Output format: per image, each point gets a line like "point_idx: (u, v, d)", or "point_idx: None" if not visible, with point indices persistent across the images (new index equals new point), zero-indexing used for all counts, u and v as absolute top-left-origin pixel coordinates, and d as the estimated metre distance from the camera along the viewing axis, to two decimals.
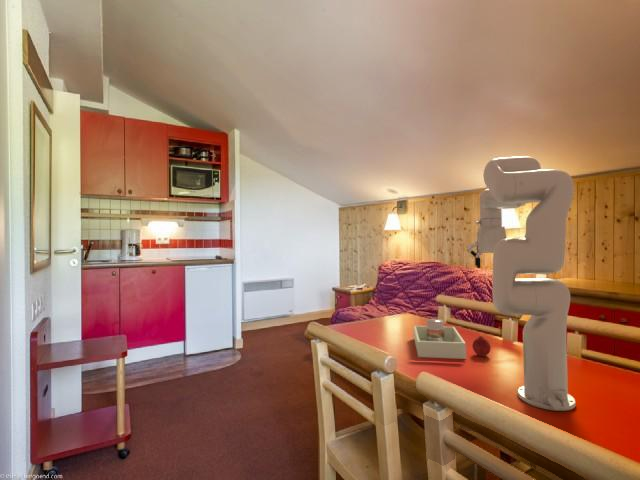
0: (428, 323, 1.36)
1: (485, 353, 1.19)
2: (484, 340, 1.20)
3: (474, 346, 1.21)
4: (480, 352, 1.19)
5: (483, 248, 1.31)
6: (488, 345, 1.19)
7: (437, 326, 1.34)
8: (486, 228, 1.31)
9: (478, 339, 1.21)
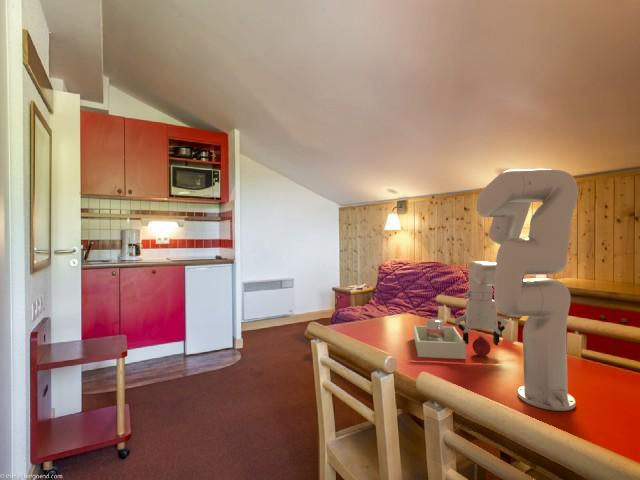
0: (428, 323, 1.36)
1: (485, 353, 1.19)
2: (484, 340, 1.20)
3: (474, 346, 1.21)
4: (480, 352, 1.19)
5: (471, 324, 1.20)
6: (488, 344, 1.19)
7: (437, 326, 1.34)
8: (475, 302, 1.20)
9: (478, 339, 1.21)
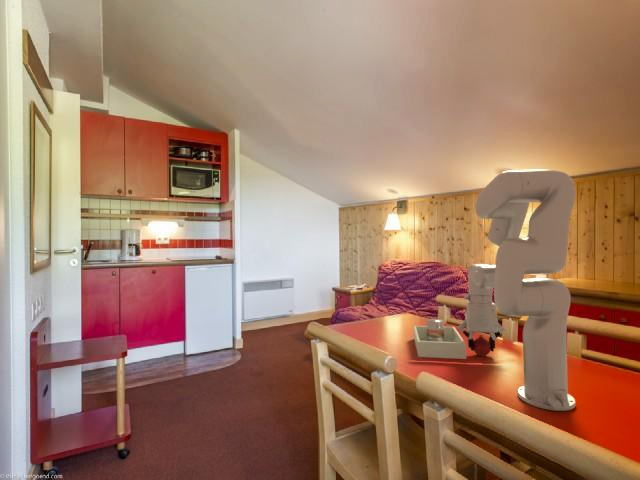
0: (428, 323, 1.36)
1: (485, 353, 1.19)
2: (484, 340, 1.20)
3: (474, 346, 1.21)
4: (480, 352, 1.19)
5: (472, 327, 1.19)
6: (488, 344, 1.19)
7: (437, 326, 1.34)
8: (475, 305, 1.19)
9: (478, 339, 1.21)
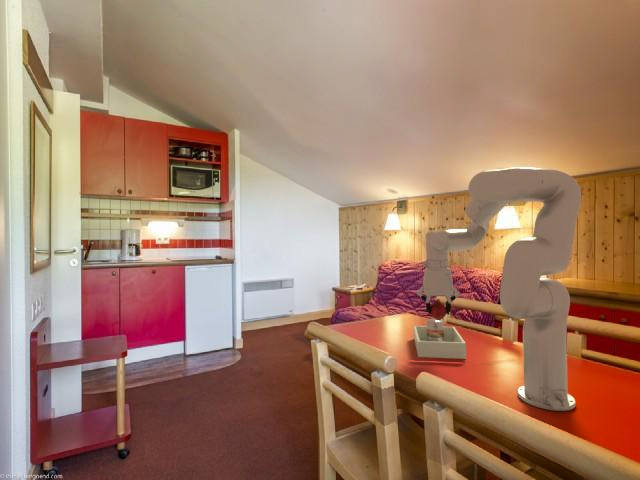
0: (428, 323, 1.36)
1: (441, 316, 1.24)
2: (440, 303, 1.25)
3: (431, 309, 1.26)
4: (436, 315, 1.24)
5: (428, 291, 1.24)
6: (444, 308, 1.24)
7: (437, 326, 1.34)
8: (431, 270, 1.24)
9: (435, 303, 1.26)
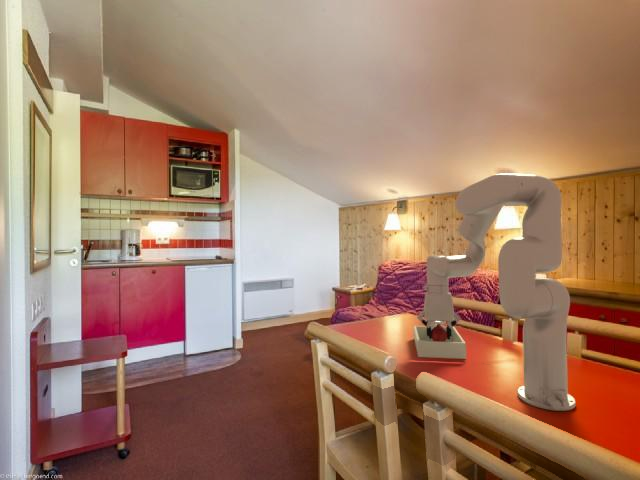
0: None
1: (441, 341, 1.24)
2: (441, 328, 1.25)
3: (432, 334, 1.26)
4: (437, 340, 1.24)
5: (429, 316, 1.24)
6: (444, 333, 1.24)
7: None
8: (432, 295, 1.24)
9: (435, 327, 1.26)
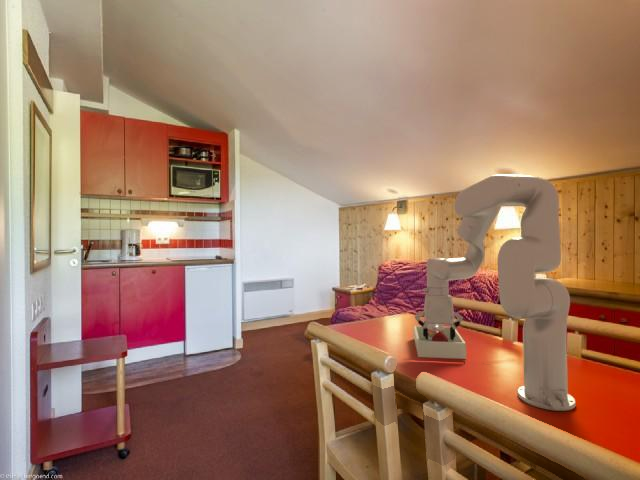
0: None
1: None
2: (442, 335, 1.25)
3: (433, 340, 1.25)
4: None
5: (429, 318, 1.24)
6: (446, 339, 1.24)
7: (437, 326, 1.34)
8: (432, 297, 1.24)
9: (437, 334, 1.26)
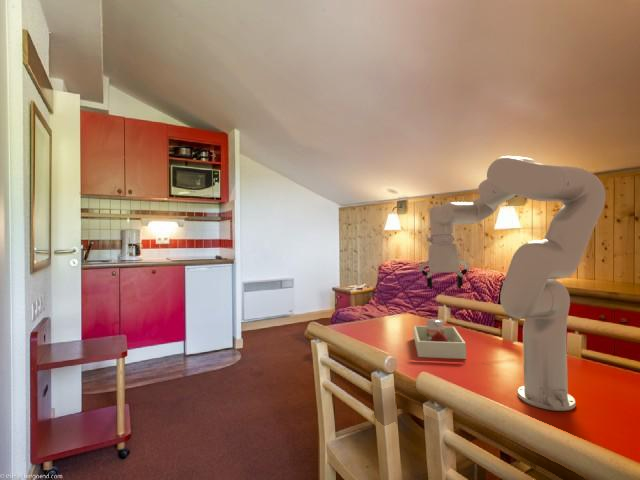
0: (428, 323, 1.36)
1: None
2: (441, 335, 1.24)
3: None
4: None
5: (434, 267, 1.20)
6: (445, 340, 1.24)
7: (437, 326, 1.34)
8: (436, 246, 1.20)
9: (436, 335, 1.25)
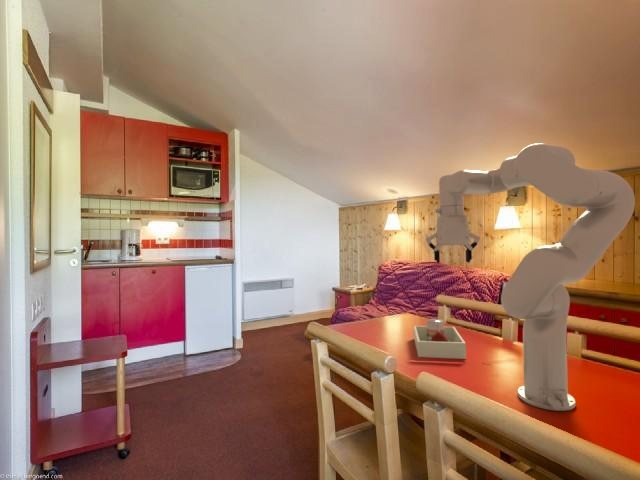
0: (428, 323, 1.36)
1: None
2: (441, 336, 1.24)
3: None
4: None
5: (442, 240, 1.14)
6: (445, 340, 1.24)
7: (437, 326, 1.34)
8: (446, 217, 1.14)
9: (436, 335, 1.25)
